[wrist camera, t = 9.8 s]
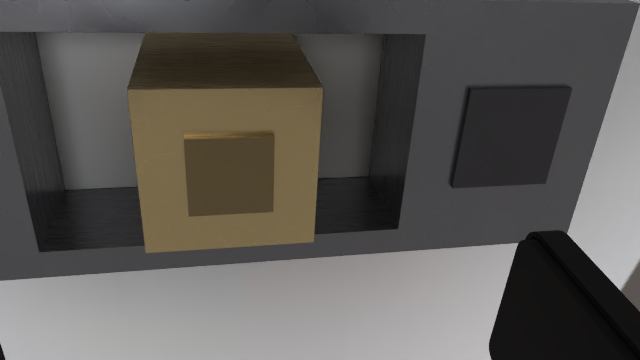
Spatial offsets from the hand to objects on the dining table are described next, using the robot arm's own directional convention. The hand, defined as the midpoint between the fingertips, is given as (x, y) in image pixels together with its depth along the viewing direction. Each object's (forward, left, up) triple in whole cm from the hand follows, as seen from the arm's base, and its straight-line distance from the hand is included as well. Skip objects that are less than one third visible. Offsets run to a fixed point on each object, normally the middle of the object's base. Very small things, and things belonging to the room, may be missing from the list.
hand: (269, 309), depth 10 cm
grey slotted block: (-1, +1, -12) cm, 12 cm away
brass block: (0, +1, -12) cm, 12 cm away
